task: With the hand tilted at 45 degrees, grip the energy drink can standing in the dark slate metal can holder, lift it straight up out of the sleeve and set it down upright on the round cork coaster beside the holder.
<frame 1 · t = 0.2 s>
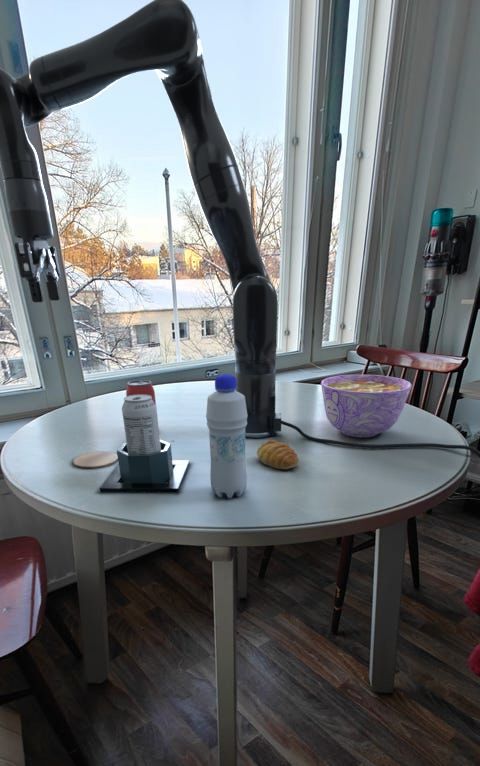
hand: (47, 301, 98), 29 cm above the table, tool pointing down, fingers open, 8 cm apart
energy drink can: (148, 478, 87), resting in can holder
cork coaster: (96, 460, 95), on the table
bowl of food: (359, 433, 109), on the table
beer can: (145, 433, 112), on the table
can holder: (147, 477, 87), on the table
pastry: (278, 463, 93), on the table
bottle: (229, 493, 80), on the table
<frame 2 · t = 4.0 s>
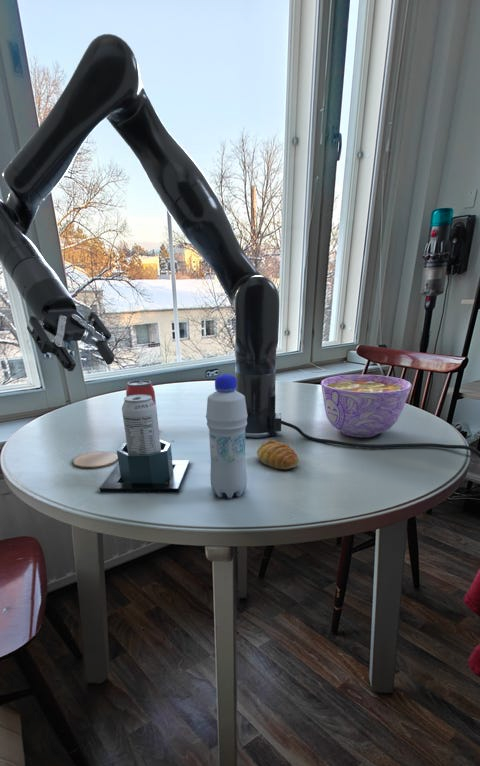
hand: (92, 365, 84), 19 cm above the table, tool tilted 45°, fingers open, 8 cm apart
nothing on the table moved.
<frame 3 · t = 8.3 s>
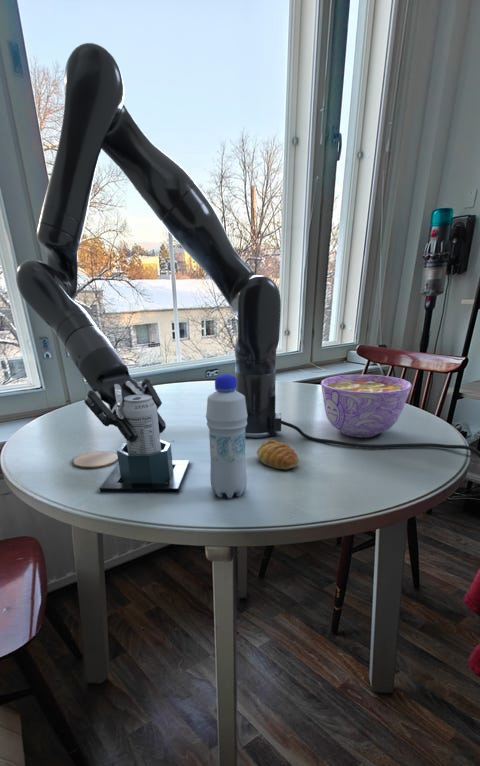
hand: (149, 434, 82), 9 cm above the table, tool tilted 45°, fingers closed on energy drink can, 6 cm apart
energy drink can: (148, 478, 87), resting in can holder, touching gripper
everything else where it was.
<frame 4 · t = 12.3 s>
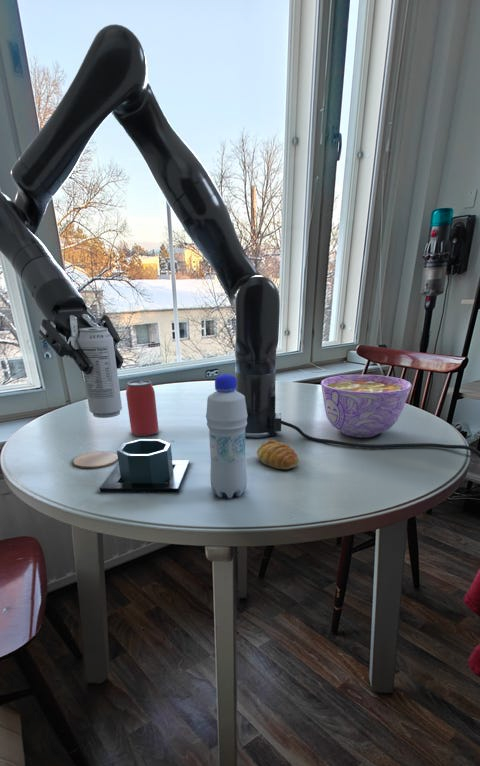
hand: (105, 368, 82), 19 cm above the table, tool tilted 45°, fingers closed on energy drink can, 6 cm apart
energy drink can: (106, 415, 87), point 10 cm above the table, touching gripper
everything else where it was.
when the fingers open (9 cm above the table, at t = 16.6 s): energy drink can stays where it is, resting on cork coaster.
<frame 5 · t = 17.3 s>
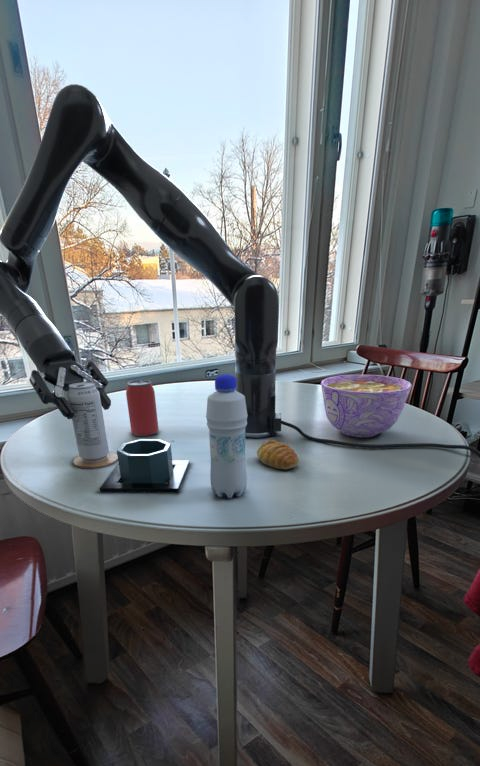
hand: (90, 411, 90), 10 cm above the table, tool tilted 45°, fingers open, 8 cm apart
energy drink can: (95, 459, 95), resting on cork coaster
everything else where it was.
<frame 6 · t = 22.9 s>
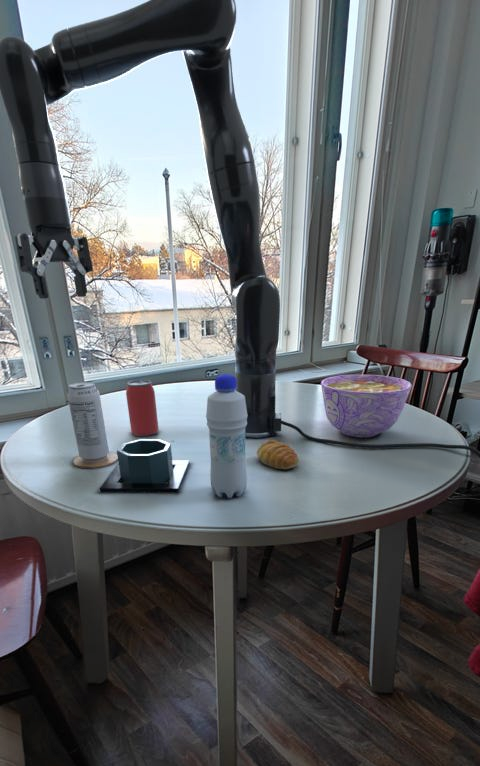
hand: (63, 297, 91), 30 cm above the table, tool pointing down, fingers open, 8 cm apart
nothing on the table moved.
at the end: energy drink can 0.2 cm from the target spot, resting on cork coaster; energy drink can tilted 0°; the gripper is holding nothing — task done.
